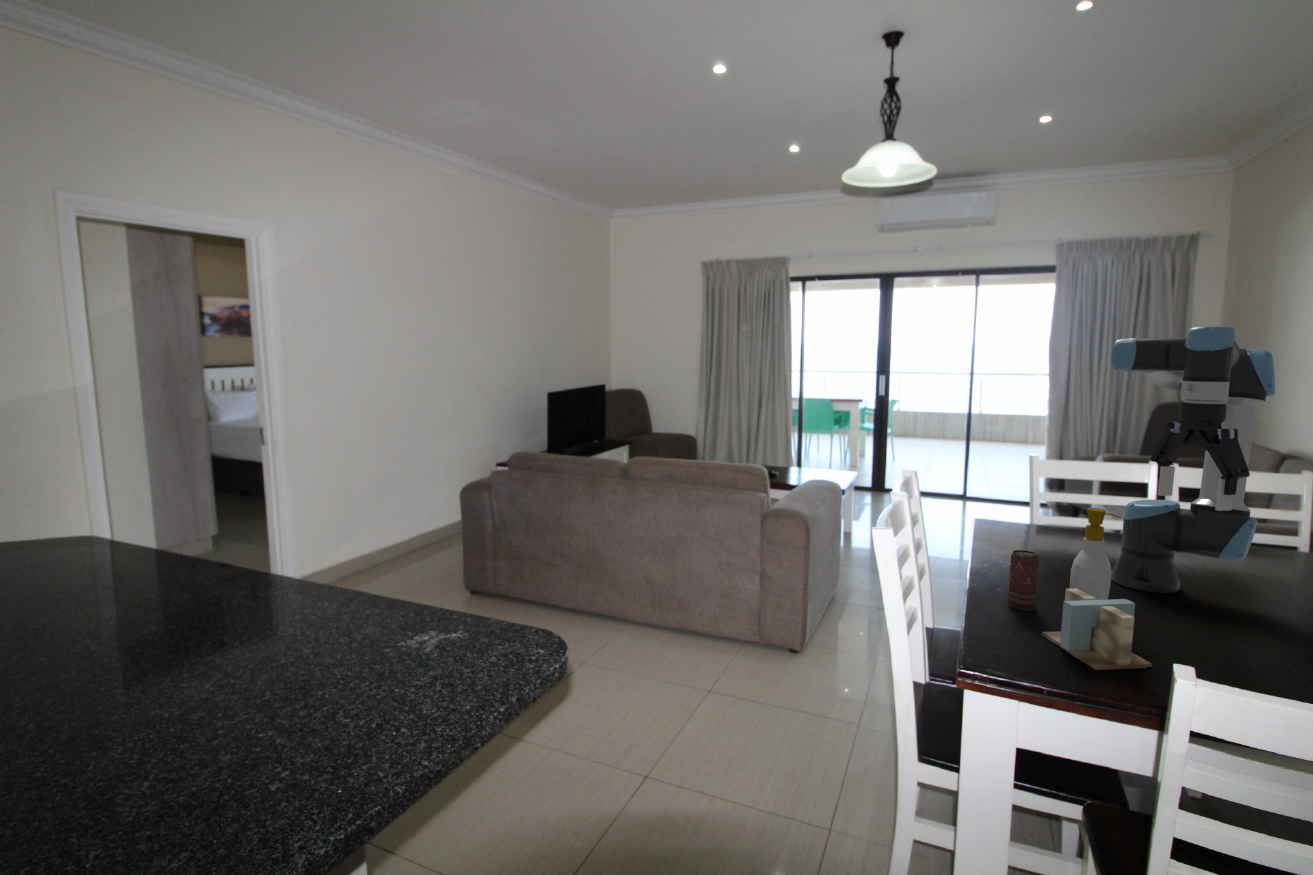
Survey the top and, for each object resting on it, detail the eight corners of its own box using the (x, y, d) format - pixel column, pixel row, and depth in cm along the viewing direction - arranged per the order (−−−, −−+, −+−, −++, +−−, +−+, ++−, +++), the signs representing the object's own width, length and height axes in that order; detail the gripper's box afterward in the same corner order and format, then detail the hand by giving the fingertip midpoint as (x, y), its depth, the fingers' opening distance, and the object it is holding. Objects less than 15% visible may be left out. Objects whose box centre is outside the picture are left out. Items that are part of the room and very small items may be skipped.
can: (1040, 612, 157) (1044, 557, 155) (1012, 610, 158) (1016, 555, 157) (1031, 603, 163) (1035, 550, 161) (1004, 601, 164) (1007, 548, 162)
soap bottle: (1109, 627, 148) (1119, 517, 145) (1063, 617, 154) (1072, 511, 151) (1114, 608, 159) (1124, 506, 156) (1072, 600, 165) (1080, 501, 162)
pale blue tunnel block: (1121, 643, 139) (1125, 598, 137) (1130, 648, 136) (1135, 603, 135) (1059, 645, 138) (1063, 600, 136) (1068, 650, 135) (1072, 605, 134)
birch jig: (1042, 635, 144) (1045, 589, 143) (1092, 633, 145) (1096, 587, 144) (1095, 669, 129) (1100, 618, 127) (1151, 667, 130) (1156, 616, 128)
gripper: (1137, 398, 145) (1128, 490, 147) (1245, 407, 120) (1233, 517, 123) (1168, 397, 145) (1159, 489, 148) (1282, 406, 121) (1269, 516, 123)
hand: (1192, 502), depth 135 cm, fingers open, 13 cm apart
